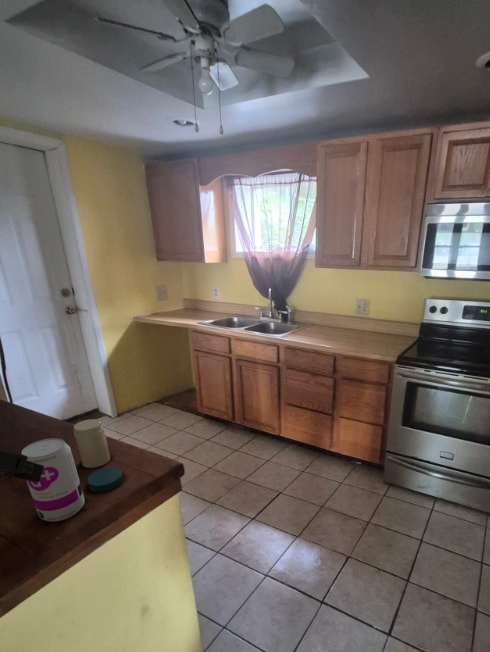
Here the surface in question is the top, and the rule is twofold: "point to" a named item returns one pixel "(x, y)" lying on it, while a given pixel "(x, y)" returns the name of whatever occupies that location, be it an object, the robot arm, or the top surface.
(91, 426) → the jar
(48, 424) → the top surface
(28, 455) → the supplement can
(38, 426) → the top surface
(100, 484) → the jar lid
